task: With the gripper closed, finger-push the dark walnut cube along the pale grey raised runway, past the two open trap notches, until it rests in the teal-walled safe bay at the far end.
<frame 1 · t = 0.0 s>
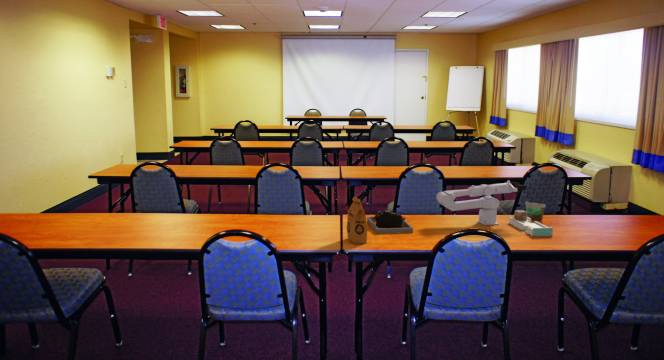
hand: (523, 185, 296), 22 cm above the table, tool horizontal, fingers open, 7 cm apart
walnut block: (520, 219, 296), point 2 cm above the table, touching trap runway
film camera: (389, 227, 289), resting in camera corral
trap runway: (529, 228, 286), on the table
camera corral: (389, 226, 289), on the table
coffee package: (357, 241, 262), on the table
food container: (532, 219, 307), on the table
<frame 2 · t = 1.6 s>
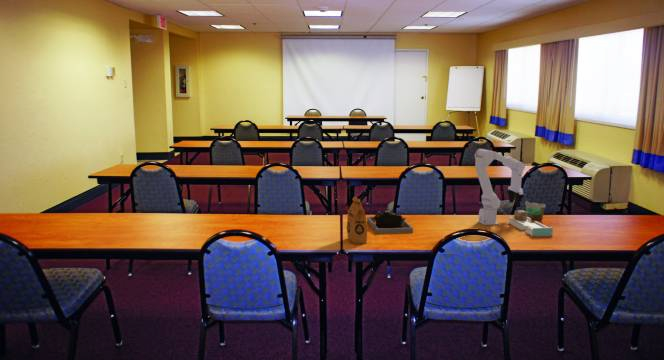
hand: (514, 203, 302), 10 cm above the table, tool pointing down, fingers open, 7 cm apart
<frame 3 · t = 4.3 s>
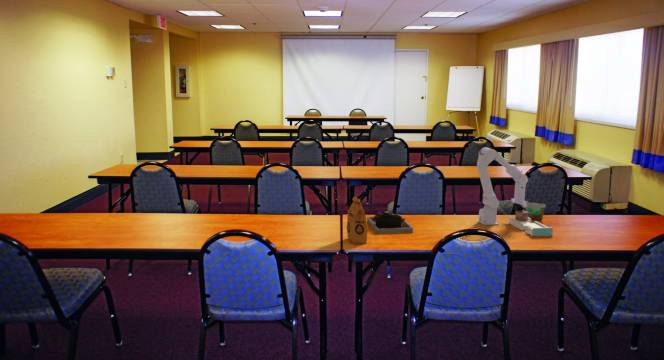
hand: (517, 216, 298), 4 cm above the table, tool pointing down, fingers closed
walnut block: (521, 220, 295), point 3 cm above the table, touching gripper
film camera: (388, 228, 287), resting in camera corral
everything else where it was.
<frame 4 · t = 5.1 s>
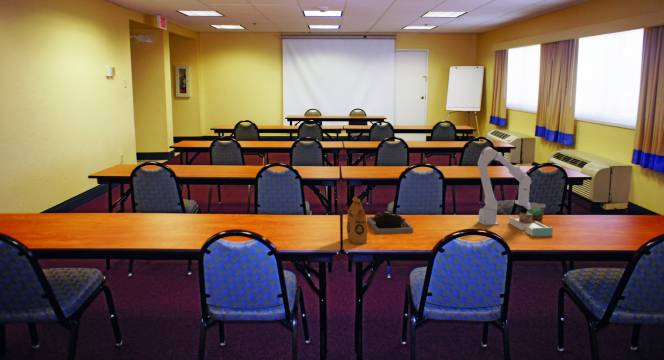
hand: (521, 218, 294), 4 cm above the table, tool pointing down, fingers closed
walnut block: (525, 222, 290), point 3 cm above the table, touching gripper
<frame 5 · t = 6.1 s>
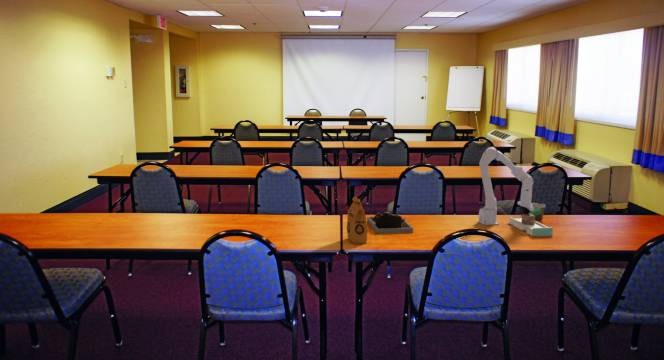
hand: (524, 219, 291), 4 cm above the table, tool pointing down, fingers closed
walnut block: (527, 223, 287), point 3 cm above the table, touching gripper, trap runway
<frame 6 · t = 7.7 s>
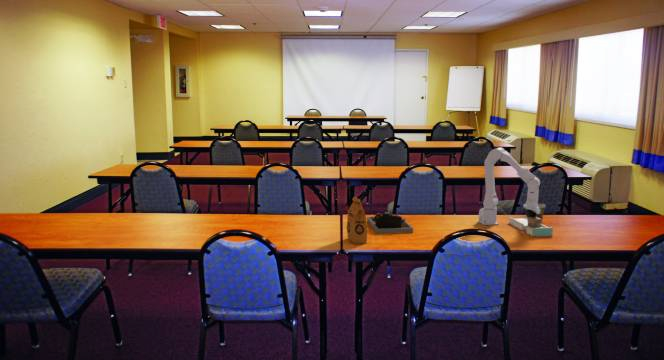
hand: (530, 223, 285), 4 cm above the table, tool pointing down, fingers closed
walnut block: (534, 226, 281), point 3 cm above the table, touching gripper
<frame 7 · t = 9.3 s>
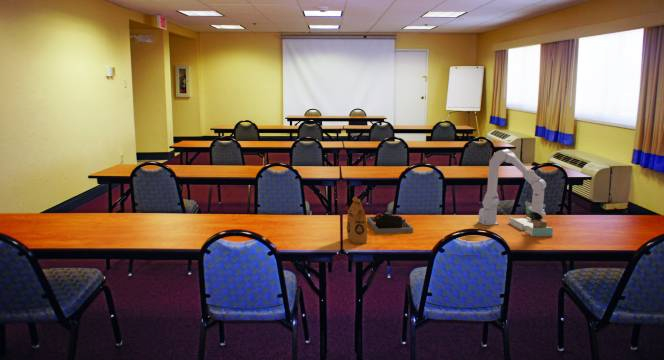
hand: (535, 225, 279), 4 cm above the table, tool pointing down, fingers closed
walnut block: (539, 229, 275), point 2 cm above the table, touching gripper, trap runway
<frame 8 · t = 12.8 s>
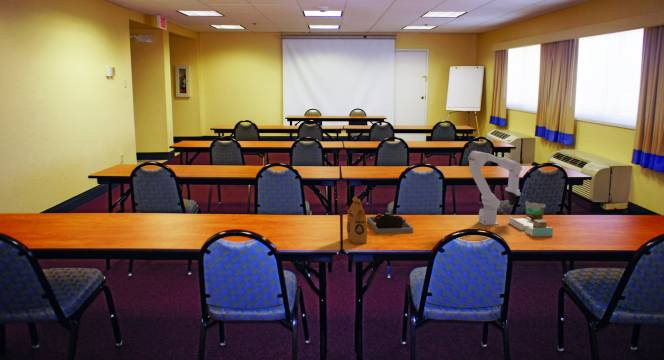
hand: (511, 205, 299), 10 cm above the table, tool pointing down, fingers closed
walnut block: (539, 229, 275), point 2 cm above the table, touching trap runway
at the end: walnut block 0.7 cm from the target spot on the trap runway, point 2.5 cm above the trap runway's base; walnut block tilted 0°; walnut block moved 20.9 cm from its start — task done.
